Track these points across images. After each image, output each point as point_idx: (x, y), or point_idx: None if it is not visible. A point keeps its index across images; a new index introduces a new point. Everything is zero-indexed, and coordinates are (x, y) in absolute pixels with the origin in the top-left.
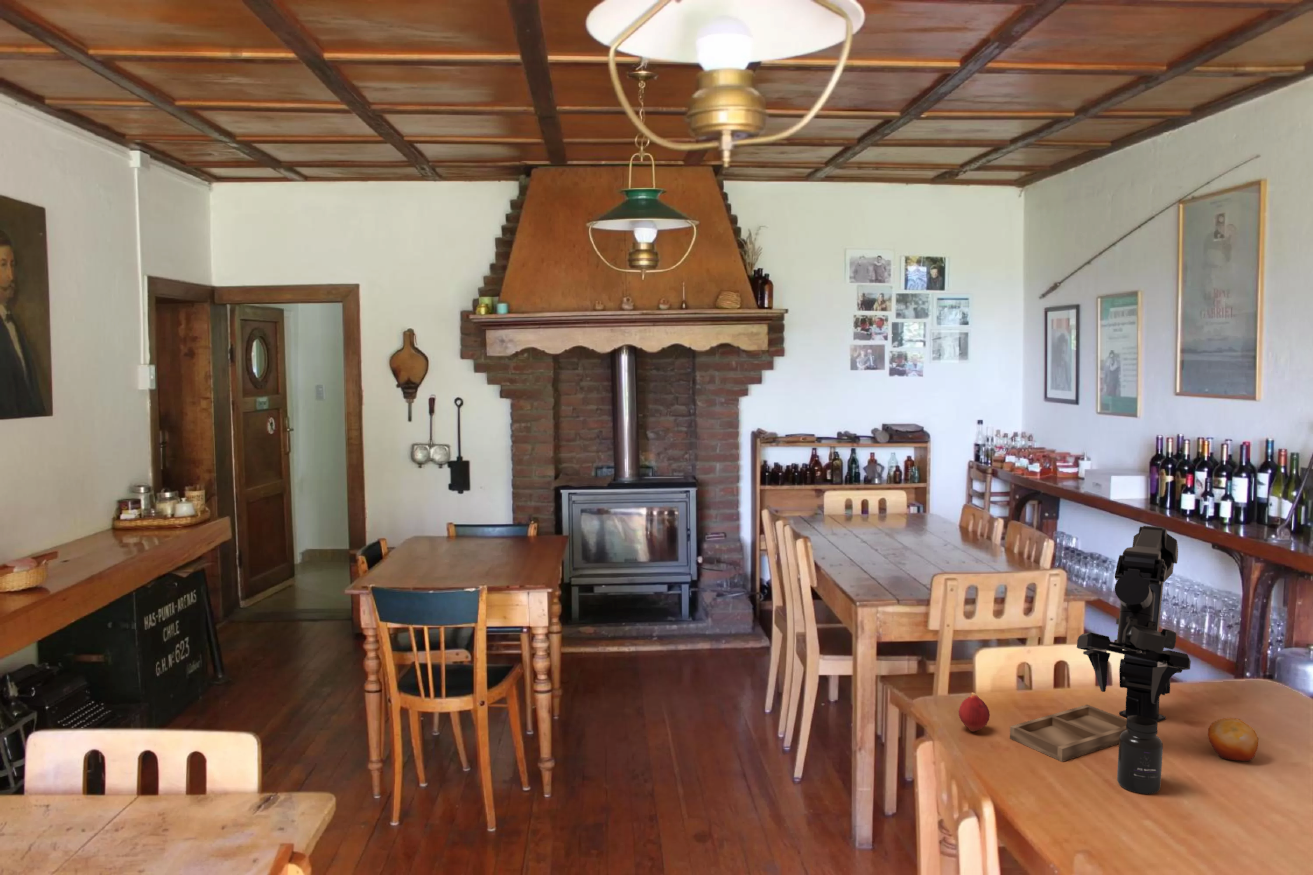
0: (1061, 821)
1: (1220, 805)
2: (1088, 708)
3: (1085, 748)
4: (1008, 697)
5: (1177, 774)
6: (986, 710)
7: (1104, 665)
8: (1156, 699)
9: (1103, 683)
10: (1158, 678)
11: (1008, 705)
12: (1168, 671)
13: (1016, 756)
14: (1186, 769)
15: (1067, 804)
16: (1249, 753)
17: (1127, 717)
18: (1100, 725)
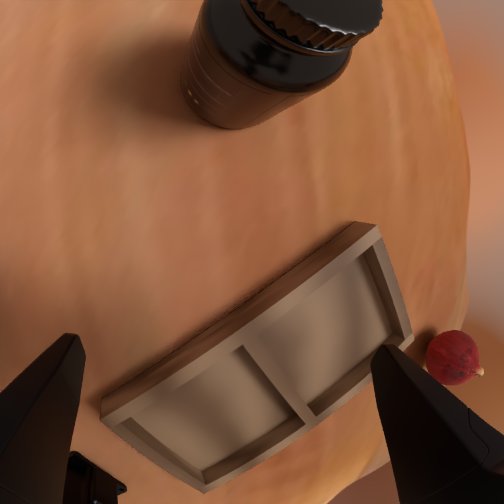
0: (406, 11)
1: (87, 4)
2: (204, 482)
3: (295, 275)
4: (311, 493)
5: (85, 156)
6: (455, 352)
7: (484, 447)
8: (59, 344)
9: (418, 366)
10: (17, 480)
11: (327, 468)
12: None
13: (417, 243)
14: (46, 194)
15: (393, 44)
16: None
17: (378, 22)
18: (191, 431)
